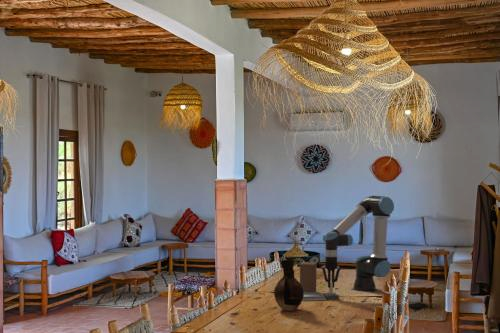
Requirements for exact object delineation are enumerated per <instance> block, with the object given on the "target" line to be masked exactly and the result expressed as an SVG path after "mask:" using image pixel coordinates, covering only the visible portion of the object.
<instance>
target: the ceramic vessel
mask: <svg viewBox="0 0 500 333" xmlns="http://www.w3.org/2000/svg"><path fill="white" fill-rule="evenodd" d="M279 261H280V265H281V267H282V270H283V276H282V277H281V278H280V279H279V280H278V282H277V283H276V285H275V287H274V290H273V295H274V299H275V302H276V304H277V305H278V307H279V308H280V309H281V310H283V311H287V312H288V311H289V312H294V311H296V310H297V309H298V308H299V306H300V305H301V304H302V302H303V301H302V300H303V296H304V292H303V288H302V286H301V284H300V281H299V280H298V279H297V278H296V277H295V272H296V271H295V270H294V264H295V259H294V258H293V259H286V260H285V259H284V260H279Z"/></svg>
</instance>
